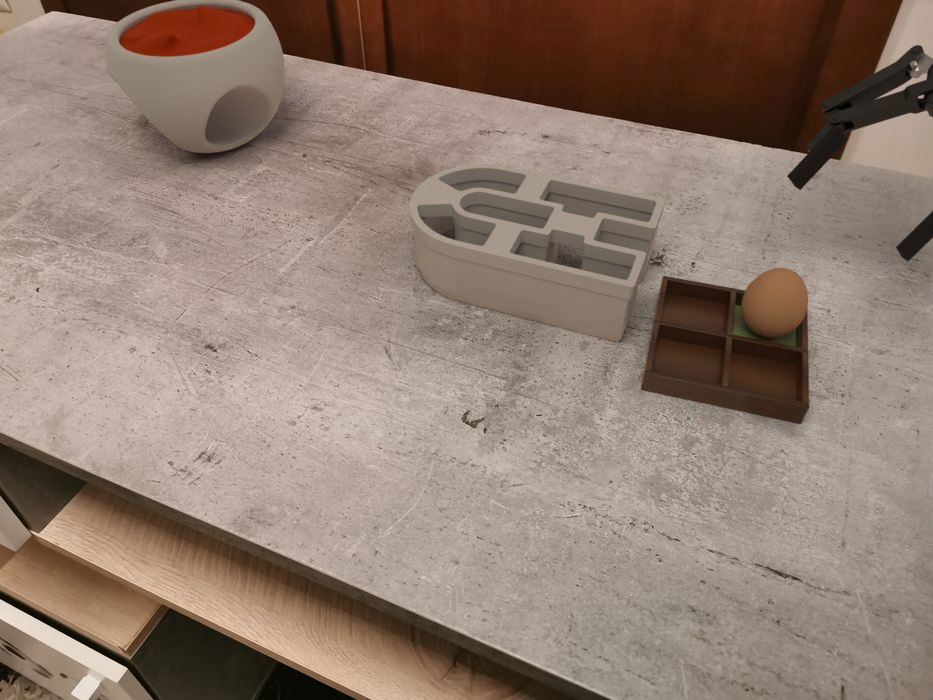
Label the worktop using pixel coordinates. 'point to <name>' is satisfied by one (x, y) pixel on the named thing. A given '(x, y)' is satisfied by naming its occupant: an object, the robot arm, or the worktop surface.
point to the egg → (775, 303)
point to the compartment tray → (724, 354)
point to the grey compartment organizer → (535, 245)
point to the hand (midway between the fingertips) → (844, 217)
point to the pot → (199, 70)
